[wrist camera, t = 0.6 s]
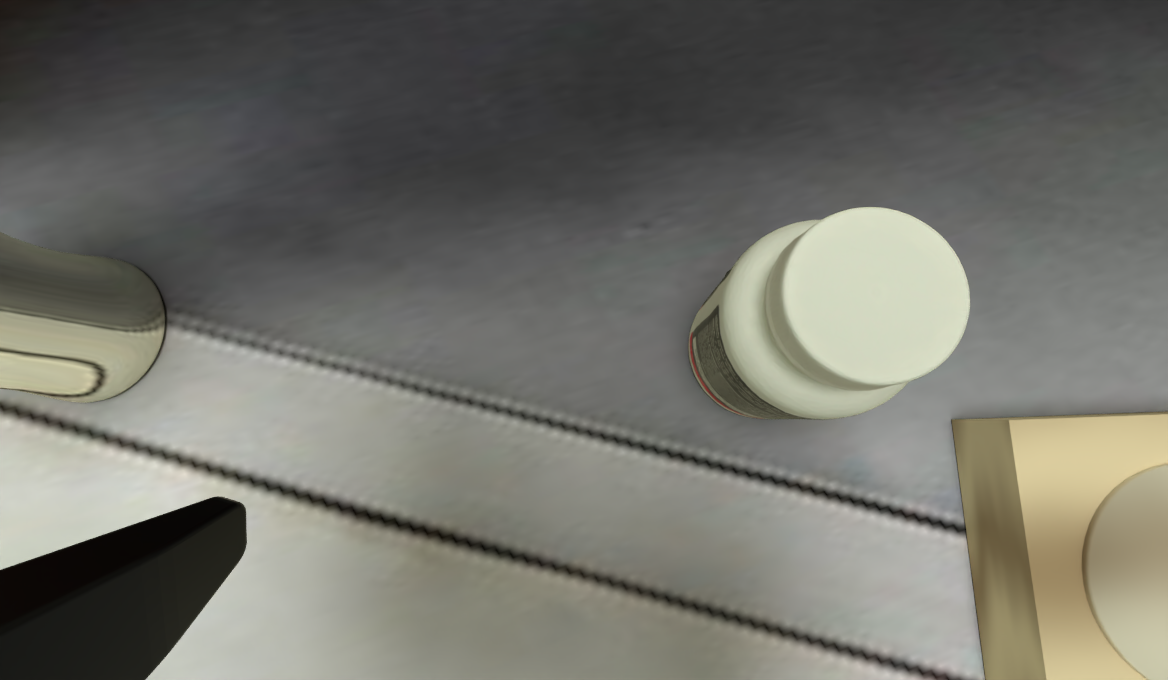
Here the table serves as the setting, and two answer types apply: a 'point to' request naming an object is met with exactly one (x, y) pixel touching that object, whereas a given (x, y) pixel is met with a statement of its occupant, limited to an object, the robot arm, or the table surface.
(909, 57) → the table surface
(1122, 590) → the pedestal
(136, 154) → the table surface
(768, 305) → the pill bottle
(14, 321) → the beer glass
